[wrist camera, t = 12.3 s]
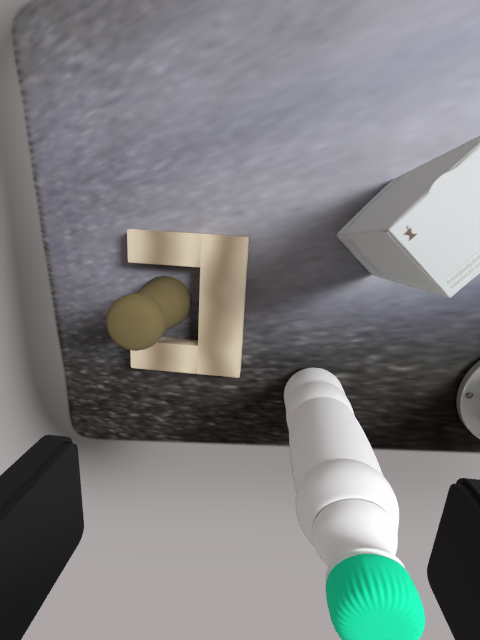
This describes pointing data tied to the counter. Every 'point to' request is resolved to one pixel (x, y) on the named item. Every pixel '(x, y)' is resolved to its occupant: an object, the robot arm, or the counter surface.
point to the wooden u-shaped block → (214, 300)
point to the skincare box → (424, 225)
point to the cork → (148, 313)
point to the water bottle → (348, 513)
